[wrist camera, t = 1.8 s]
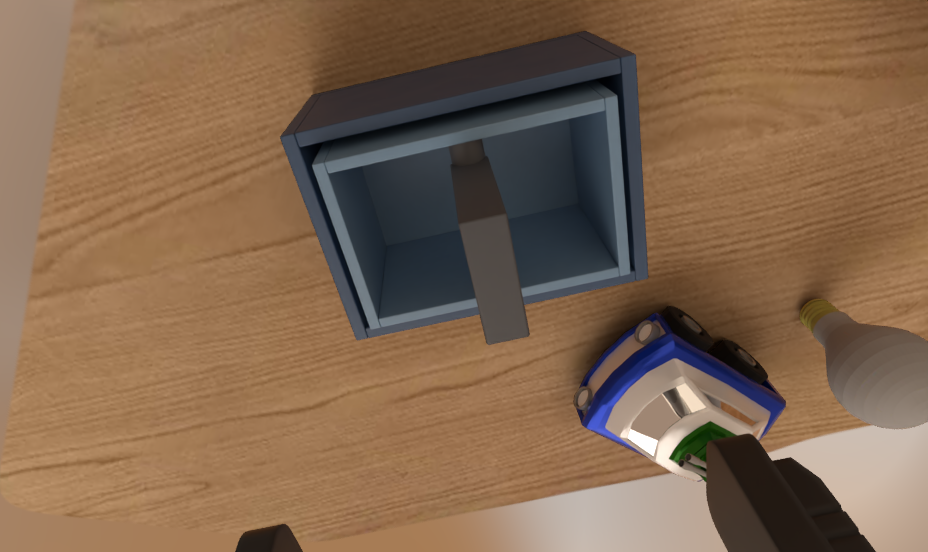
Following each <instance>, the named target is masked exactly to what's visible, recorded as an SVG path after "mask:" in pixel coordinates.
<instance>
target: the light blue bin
mask: <svg viewBox="0 0 928 552" xmlns="http://www.w3.org/2000/svg"><path fill="white" fill-rule="evenodd" d="M312 167H313V170H314V173H315V176H316V178H317V181H318V184H319V187H320V190H321V192H322V195H323V198H324V201H325V204H326V206H327V209H328V212H329V215H330V217H331V220H332V223H333V226H334V229H335V231H336V234H337V237H338V240H339V243H340V245H341V248H342V251H343V254H344V257H345V259H346V262H347V265H348V268H349V271H350V273H351V276H352V279H353V282H354V284H355V287H356V290H357V293H358V296H359V298H360V301H361V304H362V307H363V310H364V312H365V315H366V318H367V321H368V324H369V326H370V329H376V328H380V327H385V326H389V325H394V324H399V323H403V322H408V321H413V320H417V319H422V318H427V317H431V316H436V315H441V314H445V313H450V312H455V311H459V310H464V309H469V308H473V307H478V309H479V314H480V318H481V322H482V326H483V330H484V335H485V339H486V343H487V344H488V345H491V344H495V343H500V342H505V341H510V340H514V339H519V338H524V337H528V336H529V334H530V333H529V328H528V323H527V317H526V312H525V307H524V301H523V297H525V296H529V295H534V294H539V293H543V292H548V291H553V290H557V289H562V288H567V287H571V286H576V285H581V284H585V283H590V282H595V281H599V280H604V279H609V278H613V277H618V276H619V275H620V276H623V275H627V274H630V261H629V247H628V234H627V220H626V207H625V193H624V180H623V166H622V153H621V139H620V126H619V112H618V99H617V95H616V94H614V93H613V92H612V91H610V90H609V89H608V88H606V87H605V86H603V85H602V84H601V83H599V82H598V81H596V80H595V79H594V80H590V81H586V82H581V83H577V84H573V85H568V86H564V87H559V88H555V89H551V90H546V91H542V92H538V93H533V94H529V95H525V96H520V97H516V98H512V99H507V100H503V101H499V102H494V103H490V104H486V105H481V106H477V107H473V108H468V109H464V110H460V111H455V112H451V113H447V114H442V115H438V116H434V117H429V118H425V119H421V120H416V121H412V122H408V123H403V124H399V125H394V126H390V127H386V128H381V129H377V130H373V131H368V132H364V133H360V134H355V135H351V136H347V137H342V138H338V139H334V140H329V141H325V142H323V144H322V146H321V148H320V150H319V152H318V154H317V156H316V158H315V160H314V162H313V164H312Z"/></svg>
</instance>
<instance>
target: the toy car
mask: <svg viewBox="0 0 928 552" xmlns="http://www.w3.org/2000/svg"><path fill="white" fill-rule="evenodd" d="M713 344H714V343H713V341H712V339H711V337H710V336H709V334H708V333H707V332H706V331H705V330H704V329H703V328H702V327H701V326H700V325H699V324H698V323H697V322H696V321H695V320H694V319H693V318H691V317H690V316H689V315H687V314H686V313H685V312H683V311H681V310H680V309H678V308H676V307H673V306H669V307H667V308H666V310H665V311H664V312H663V313H662V314H661V315H660V314H658V313H654V314H652V315H651V316H649V317H648V318H646V319H645V320H643V321H642V322H640V323H639V324H638V325H636V326H635V327H633V328H632V329H630V330H629V331H627V332H626V333H624V334H623V335H622V336H621V337H620V338H619V339H618V340H617V341H616V342H615V343H614V344H613V345H612V346H610V347H609V348H608V349H607V350H606V351H605V352H604V353H603V354H602V355H601V357H600V358H599V359H598V360H597V362H596V363H595V364H594V365H593V367H592V368H591V369H590V370H589V372H588V373H587V374H586V376H585V378H584V380H583V382H582V384H581V386H580V387H579V389H578V391H577V392H576V394H575V396H574V401H573V402H574V406H575V407H576V409H577V412H578V415H579V417H580V420H581V423H582V425H583V426H584V427H586V428H587V429H589V430H591V431H593V432H595V433H597V434H599V435H601V436H603V437H605V438H608V439H610V440H612V441H614V442H616V443H618V444H620V445H622V446H624V447H626V448H628V449H631V450H633V451H635V452H637V453H639V454H641V455H643V456H645V457H647V458H649V459H651V460H652V461H654V462H655V463H657V464H659V465H660V466H662V467H664V468H665V469H667V470H668V471H670V472H672V473H673V474H676V475H678V476H681V477H684V478H687V479H690V480H693V481H701V480H704V481H705V482H706V446H707V443H708V441H711V440H717V439H722V438H727V437H732V436H737V435H742V434H747V433H750V434H752V435H753V436H754V437H755V438H756V439H757V440H758V441H759V440H760V439H761V438H762V437H763V436H764V435H765V434H767V432H768V431H769V430H770V428H771V427H772V425H773V424H774V422H775V421H776V420H777V418H778V417H779V415H780V414H781V413H782V411H783V410H784V408H785V407H786V401H785V400H784V399H783V397H782V396H781V395H780V394H779V393H778V391H777V390H776V389H775V388H774V386H773V385H772V384H771V383H770V382H769V380H768V375H767V373H766V371H765V370H764V368H763V367H762V366H761V365H760V364H759V363H758V362H757V361H756V360H755V359H754V358H753V357H752V356H751V355H750V354H749V353H747V352H746V351H745V350H744V349H743V348H741V347H740V346H738V345H737V344H735V343H734V342H732V341H730V340H726V339H724V340H723V341H722V342H721V343H720V344H719V345H718V346H717V347H716V348H715V349H714V350H713V351H712V352H711V353H710V354H708V353H706V351H707V350H708V349H709V348H710V347H711V346H712V345H713Z"/></svg>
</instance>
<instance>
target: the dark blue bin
mask: <svg viewBox="0 0 928 552" xmlns="http://www.w3.org/2000/svg"><path fill="white" fill-rule="evenodd" d="M594 79H595V80H596V81H598V82H599V83H601V84H602V85H603V86H605V87H606V88H608V89H609V90H610V91H612V92H613V93H614V94H616V95H617V99H618V112H619V126H620V139H621V153H622V166H623V180H624V193H625V207H626V220H627V234H628V247H629V261H630V274H627V275H623V276H620V275H619V276H618V277H613V278H609V279H604V280H599V281H595V282H590V283H585V284H581V285H576V286H571V287H567V288H562V289H557V290H553V291H548V292H543V293H539V294H534V295H529V296H525V297H523V301H524V305H526V304H530V303H535V302H540V301H544V300H549V299H554V298H558V297H563V296H568V295H572V294H577V293H582V292H587V291H591V290H596V289H601V288H605V287H610V286H615V285H619V284H624V283H629V282H633V281H635V280H636V281H638V280H643V279H648V264H647V246H646V228H645V210H644V192H643V175H642V157H641V139H640V121H639V103H638V86H637V68H636V55H635V54H634V53H631V52H629V51H627V50H625V49H623V48H621V47H619V46H617V45H615V44H612V43H610V42H608V41H606V40H604V39H602V38H600V37H598V36H596V35H593V34H591V33H589V32H587V31H583V32H579V33H575V34H570V35H566V36H562V37H558V38H553V39H549V40H545V41H540V42H536V43H532V44H528V45H523V46H519V47H515V48H511V49H506V50H502V51H498V52H494V53H489V54H485V55H481V56H476V57H472V58H468V59H464V60H459V61H455V62H451V63H447V64H442V65H438V66H434V67H429V68H425V69H421V70H417V71H412V72H408V73H404V74H400V75H395V76H391V77H387V78H383V79H378V80H374V81H370V82H365V83H361V84H357V85H353V86H348V87H344V88H340V89H336V90H331V91H327V92H323V93H319V94H314V95H312V96H311V97H310V98H309V99H308V101H307V102H306V103H305V105H304V106H303V107H302V109H301V110H300V111H299V113H298V114H297V115H296V117H295V118H294V119H293V121H292V122H291V123H290V124H289V126H288V127H287V128H286V130H285V131H284V132H283V134H282V135H281V136H280V139H281V141H282V144H283V147H284V149H285V152H286V155H287V157H288V160H289V163H290V165H291V168H292V170H293V173H294V176H295V178H296V181H297V184H298V186H299V189H300V192H301V194H302V197H303V200H304V202H305V205H306V208H307V210H308V213H309V215H310V218H311V221H312V223H313V226H314V229H315V231H316V234H317V237H318V239H319V242H320V245H321V247H322V250H323V253H324V255H325V258H326V260H327V263H328V266H329V268H330V271H331V274H332V276H333V279H334V282H335V284H336V287H337V290H338V292H339V295H340V298H341V300H342V303H343V305H344V308H345V311H346V313H347V316H348V319H349V321H350V324H351V327H352V329H353V332H354V335H355V337H356V340H361V339H366V338H368V337H369V338H371V337H376V336H381V335H385V334H390V333H395V332H399V331H404V330H409V329H413V328H418V327H423V326H427V325H432V324H437V323H441V322H446V321H451V320H456V319H460V318H465V317H470V316H474V315H479V309H478V307H473V308H469V309H464V310H459V311H455V312H450V313H445V314H441V315H436V316H431V317H427V318H422V319H417V320H413V321H408V322H403V323H399V324H394V325H389V326H385V327H380V328H376V329H370V326H369V324H368V321H367V318H366V315H365V312H364V310H363V307H362V304H361V301H360V298H359V296H358V293H357V290H356V287H355V284H354V282H353V279H352V276H351V273H350V271H349V268H348V265H347V262H346V259H345V257H344V254H343V251H342V248H341V245H340V243H339V240H338V237H337V234H336V231H335V229H334V226H333V223H332V220H331V217H330V215H329V212H328V209H327V206H326V204H325V201H324V198H323V195H322V192H321V190H320V187H319V184H318V181H317V178H316V176H315V173H314V170H313V167H312V164H313V162H314V160H315V158H316V156H317V154H318V152H319V150H320V148H321V146H322V144H323V142H325V141H329V140H334V139H338V138H342V137H347V136H351V135H355V134H360V133H364V132H368V131H373V130H377V129H381V128H386V127H390V126H394V125H399V124H403V123H408V122H412V121H416V120H421V119H425V118H429V117H434V116H438V115H442V114H447V113H451V112H455V111H460V110H464V109H468V108H473V107H477V106H481V105H486V104H490V103H494V102H499V101H503V100H507V99H512V98H516V97H520V96H525V95H529V94H533V93H538V92H542V91H546V90H551V89H555V88H559V87H564V86H568V85H573V84H577V83H581V82H586V81H590V80H594Z"/></svg>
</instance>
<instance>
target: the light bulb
mask: <svg viewBox="0 0 928 552" xmlns="http://www.w3.org/2000/svg"><path fill="white" fill-rule="evenodd" d="M799 317H800V321H801V322H802V323H803V324H804V325H805V326H806V327H807V328H808V329H809V330H810V331H811V332H812V333H813V335H814V337H815V338H816V339H817V340H818V341H819V342H820V343H821V344H822V345H823V347H824V348H825V353H826V367H827V376H828V382H829V386H830V388H831V390H832V392H833V394H834V396H835V397H836V399H837V401H838V402H839V403H840V404H841V405H842V406H843V407H844V408H845V409H846V410H847V411H848V412H849V413H850V414H852V415H853V416H855V417H857V418H858V419H860V420H862V421H864V422H866V423H869V424H872V425H875V426H877V427H881V428H889V429H906V428H912V427H916V426H919V425H921V424H924V423H926V422H928V341H926V340H925V339H924V338H922V337H920V336H918V335H916V334H913V333H911V332H909V331H907V330H903V329H899V328H893V327H887V326H877V325H868V324H860V323H857V322H855V321H854V320H853V319H851V318H850V317H849V316H848V315H847V314H846V313H843V312H840V311H839V310H838V309H836V308H835V307H834V306H833V305H832V304H831V303H829V302H828V301H826V300H824V299H813V300H811V301H809V302H807V303H806V304H805V305H804V306H803V307H802V309H801V311H800V314H799Z"/></svg>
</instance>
